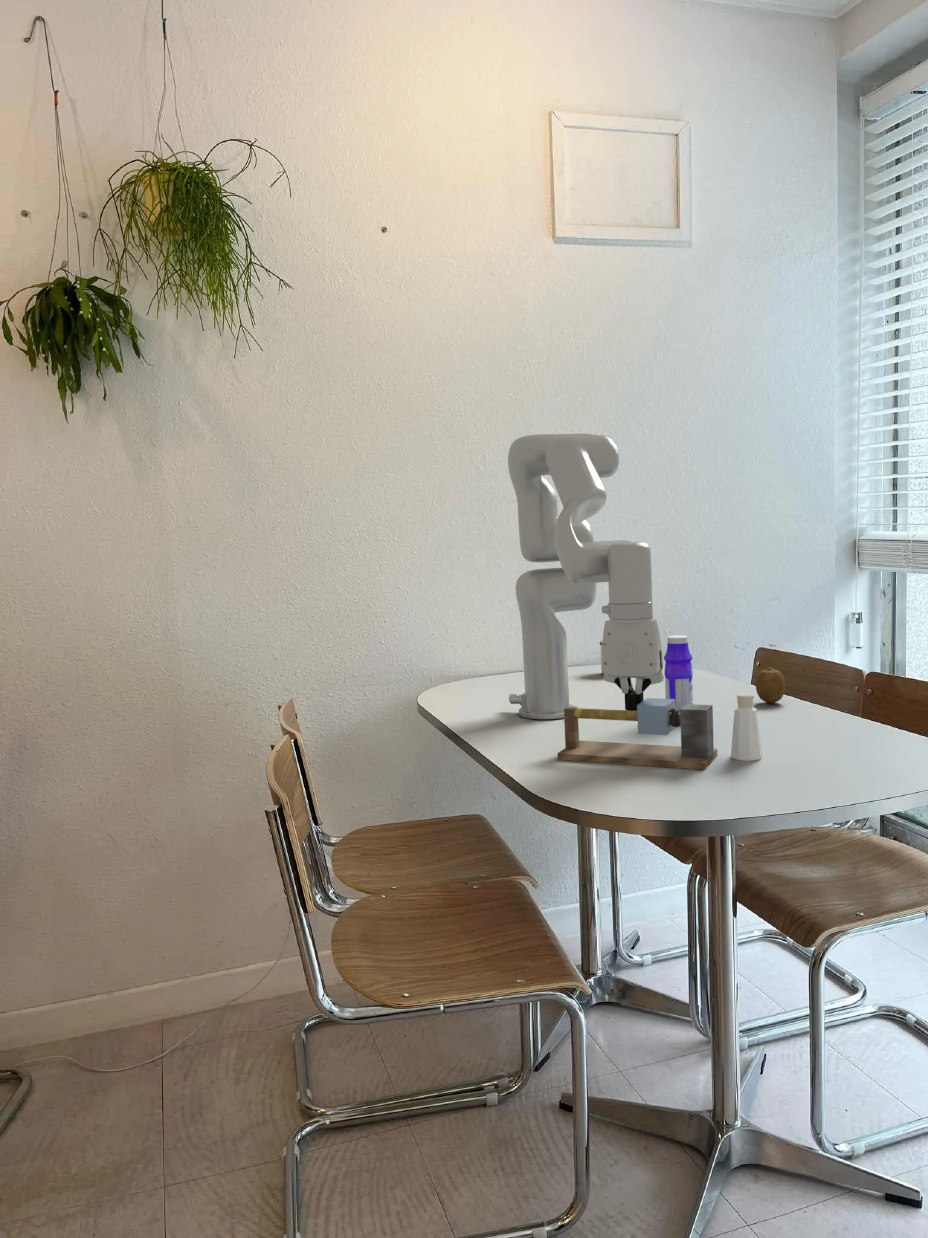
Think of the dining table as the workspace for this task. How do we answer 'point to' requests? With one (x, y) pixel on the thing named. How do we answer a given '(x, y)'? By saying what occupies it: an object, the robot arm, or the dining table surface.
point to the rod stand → (690, 754)
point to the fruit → (770, 685)
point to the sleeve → (655, 716)
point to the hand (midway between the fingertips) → (634, 714)
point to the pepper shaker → (746, 731)
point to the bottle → (678, 671)
